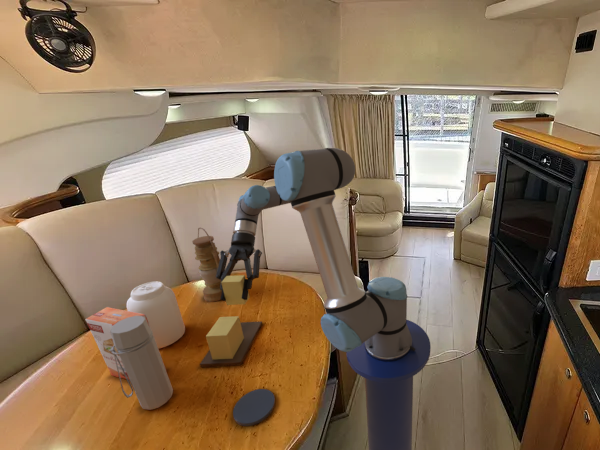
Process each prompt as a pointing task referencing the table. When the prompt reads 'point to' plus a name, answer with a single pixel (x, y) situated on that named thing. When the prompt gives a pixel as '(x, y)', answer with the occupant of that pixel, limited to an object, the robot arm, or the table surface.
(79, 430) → the table surface
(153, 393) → the water bottle
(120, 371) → the cracker box
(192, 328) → the table surface
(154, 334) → the white jar
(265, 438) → the table surface
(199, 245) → the lantern
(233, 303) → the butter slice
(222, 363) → the butter board
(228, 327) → the butter block
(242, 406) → the plate
